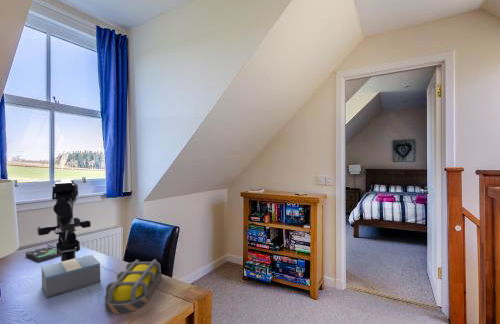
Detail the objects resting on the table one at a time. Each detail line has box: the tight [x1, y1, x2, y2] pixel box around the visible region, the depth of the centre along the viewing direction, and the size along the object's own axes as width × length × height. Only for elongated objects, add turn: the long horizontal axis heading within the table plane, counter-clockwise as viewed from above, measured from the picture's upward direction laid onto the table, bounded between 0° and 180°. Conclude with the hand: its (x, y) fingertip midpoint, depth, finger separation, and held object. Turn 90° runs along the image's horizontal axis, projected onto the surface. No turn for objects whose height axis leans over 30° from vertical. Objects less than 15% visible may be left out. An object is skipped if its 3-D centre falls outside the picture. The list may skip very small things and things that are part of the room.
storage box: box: [41, 265, 101, 299], centre depth 109 cm, size 13×18×7 cm
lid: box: [40, 254, 101, 280], centre depth 109 cm, size 13×18×1 cm
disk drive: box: [25, 246, 61, 263], centre depth 139 cm, size 10×3×15 cm
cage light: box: [104, 258, 162, 315], centre depth 104 cm, size 15×8×30 cm
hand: (65, 246), depth 117 cm, fingers closed
